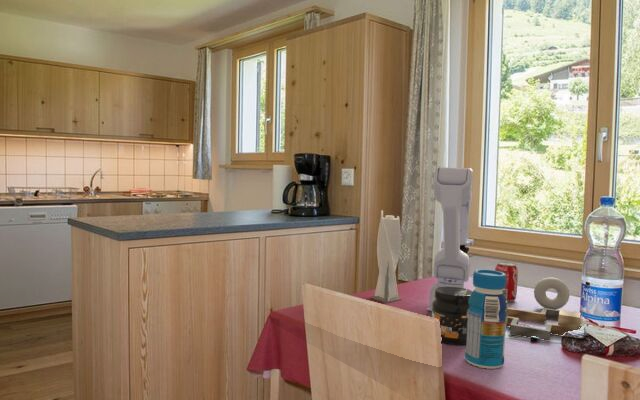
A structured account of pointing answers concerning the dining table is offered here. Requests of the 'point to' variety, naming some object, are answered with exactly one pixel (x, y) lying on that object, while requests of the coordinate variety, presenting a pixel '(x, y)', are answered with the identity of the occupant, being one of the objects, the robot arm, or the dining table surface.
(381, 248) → the skyscraper
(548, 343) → the dining table surface
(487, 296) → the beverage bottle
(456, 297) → the supplement container
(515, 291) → the soda can
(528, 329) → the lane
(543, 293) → the donut
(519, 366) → the dining table surface
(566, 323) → the block
